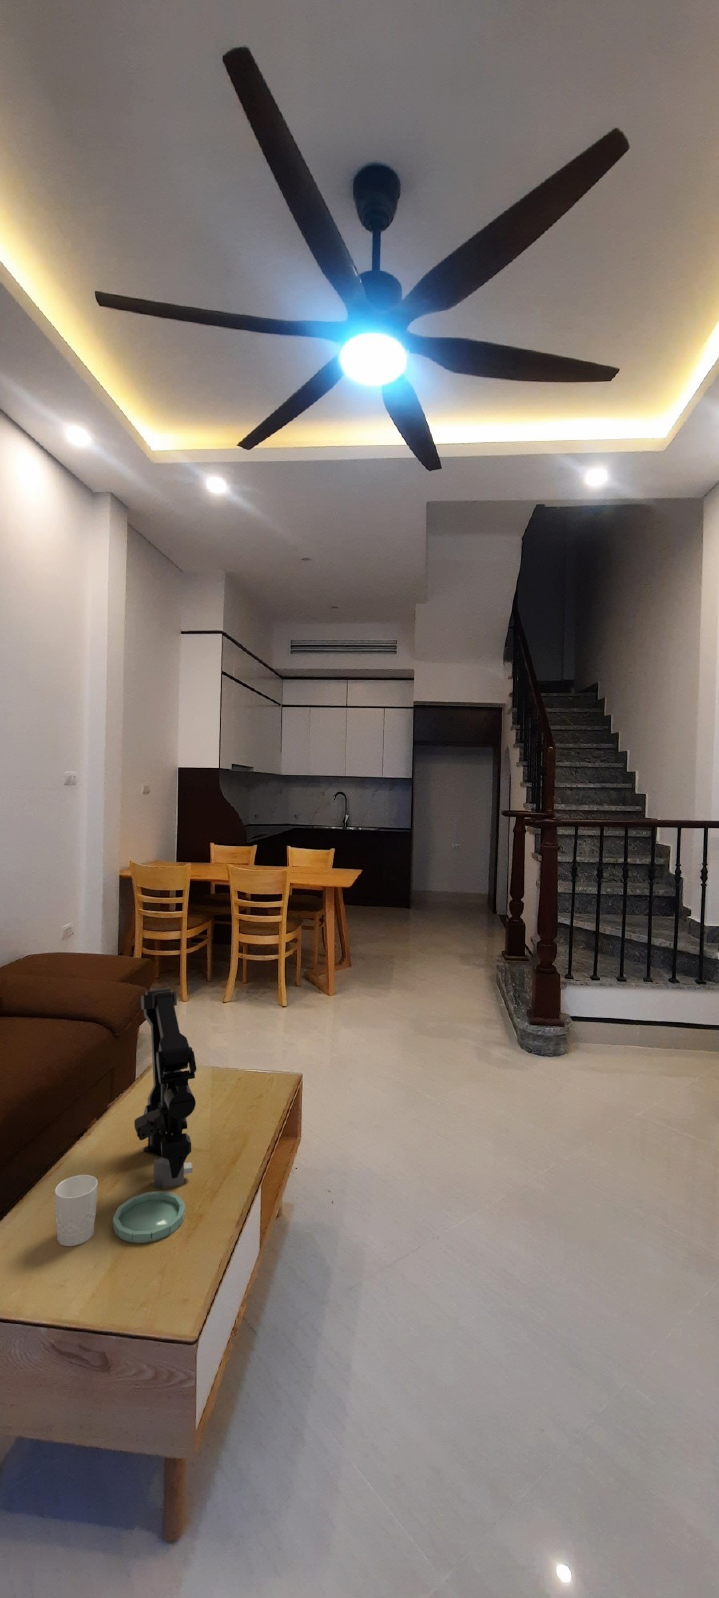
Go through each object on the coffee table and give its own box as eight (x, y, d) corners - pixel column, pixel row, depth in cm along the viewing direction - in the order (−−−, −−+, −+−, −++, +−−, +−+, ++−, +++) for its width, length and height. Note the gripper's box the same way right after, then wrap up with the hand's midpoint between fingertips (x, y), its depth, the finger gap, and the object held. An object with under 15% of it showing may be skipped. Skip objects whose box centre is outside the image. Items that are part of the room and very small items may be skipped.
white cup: (105, 1228, 133) (106, 1179, 133) (77, 1253, 126) (77, 1201, 126) (74, 1219, 136) (75, 1171, 136) (45, 1243, 128) (45, 1193, 128)
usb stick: (153, 1190, 146) (154, 1168, 146) (152, 1180, 150) (153, 1158, 150) (192, 1182, 149) (192, 1161, 149) (190, 1173, 153) (191, 1152, 153)
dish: (98, 1230, 132) (98, 1222, 132) (147, 1193, 145) (147, 1185, 145) (152, 1251, 126) (152, 1242, 126) (198, 1210, 139) (198, 1202, 139)
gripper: (135, 1087, 156) (134, 1152, 156) (138, 1124, 138) (137, 1197, 138) (183, 1080, 160) (182, 1144, 160) (192, 1115, 142) (190, 1187, 142)
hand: (172, 1166), depth 150 cm, fingers open, 9 cm apart
